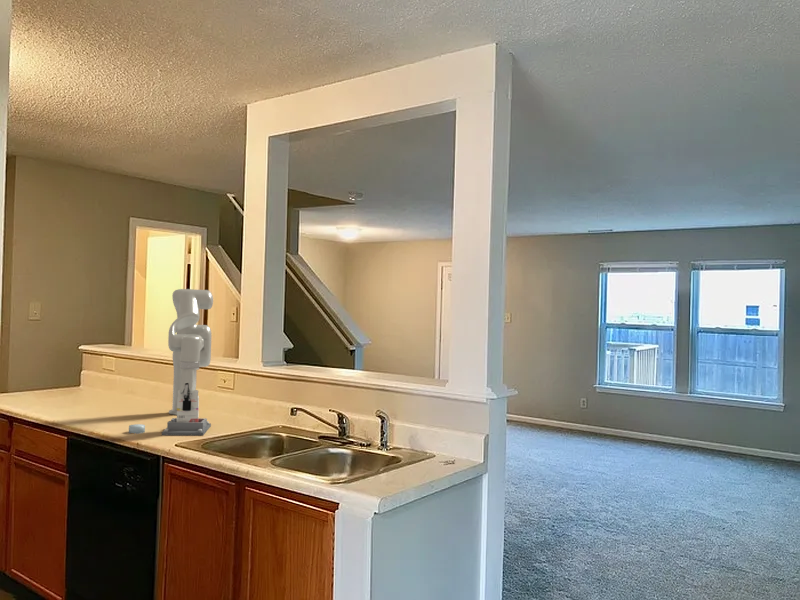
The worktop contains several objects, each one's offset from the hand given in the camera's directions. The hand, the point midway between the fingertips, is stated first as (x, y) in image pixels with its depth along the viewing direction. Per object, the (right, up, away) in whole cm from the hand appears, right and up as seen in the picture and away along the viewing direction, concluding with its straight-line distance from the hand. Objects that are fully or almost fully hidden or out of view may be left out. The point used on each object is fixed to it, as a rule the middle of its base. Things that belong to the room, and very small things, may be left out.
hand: (188, 408), depth 263 cm
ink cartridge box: (0, -7, 0) cm, 7 cm away
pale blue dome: (-19, -8, -7) cm, 21 cm away
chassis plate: (0, -9, 0) cm, 9 cm away
